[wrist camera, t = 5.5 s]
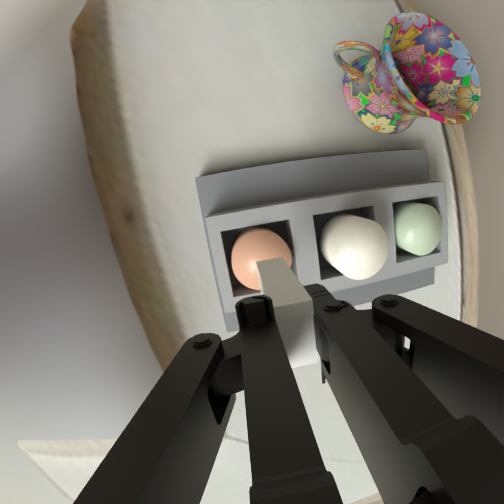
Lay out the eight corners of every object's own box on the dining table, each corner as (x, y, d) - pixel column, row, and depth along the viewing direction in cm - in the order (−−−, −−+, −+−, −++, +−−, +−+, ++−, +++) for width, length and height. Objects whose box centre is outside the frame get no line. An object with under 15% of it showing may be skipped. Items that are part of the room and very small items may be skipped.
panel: (197, 178, 26) (190, 176, 21) (414, 150, 27) (443, 146, 22) (227, 323, 29) (227, 348, 24) (424, 278, 30) (450, 292, 25)
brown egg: (226, 230, 25) (226, 237, 22) (279, 221, 25) (287, 226, 22) (236, 280, 26) (237, 295, 23) (287, 271, 26) (295, 284, 23)
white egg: (315, 218, 23) (329, 224, 20) (366, 210, 23) (386, 214, 20) (322, 272, 24) (336, 285, 21) (370, 261, 24) (390, 272, 21)
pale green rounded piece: (381, 204, 26) (401, 207, 22) (419, 198, 26) (440, 201, 22) (385, 251, 26) (404, 259, 23) (422, 243, 27) (442, 250, 23)
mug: (413, 69, 25) (473, 38, 15) (415, 147, 27) (485, 137, 16) (309, 41, 24) (344, -16, 14) (306, 126, 26) (349, 94, 16)
